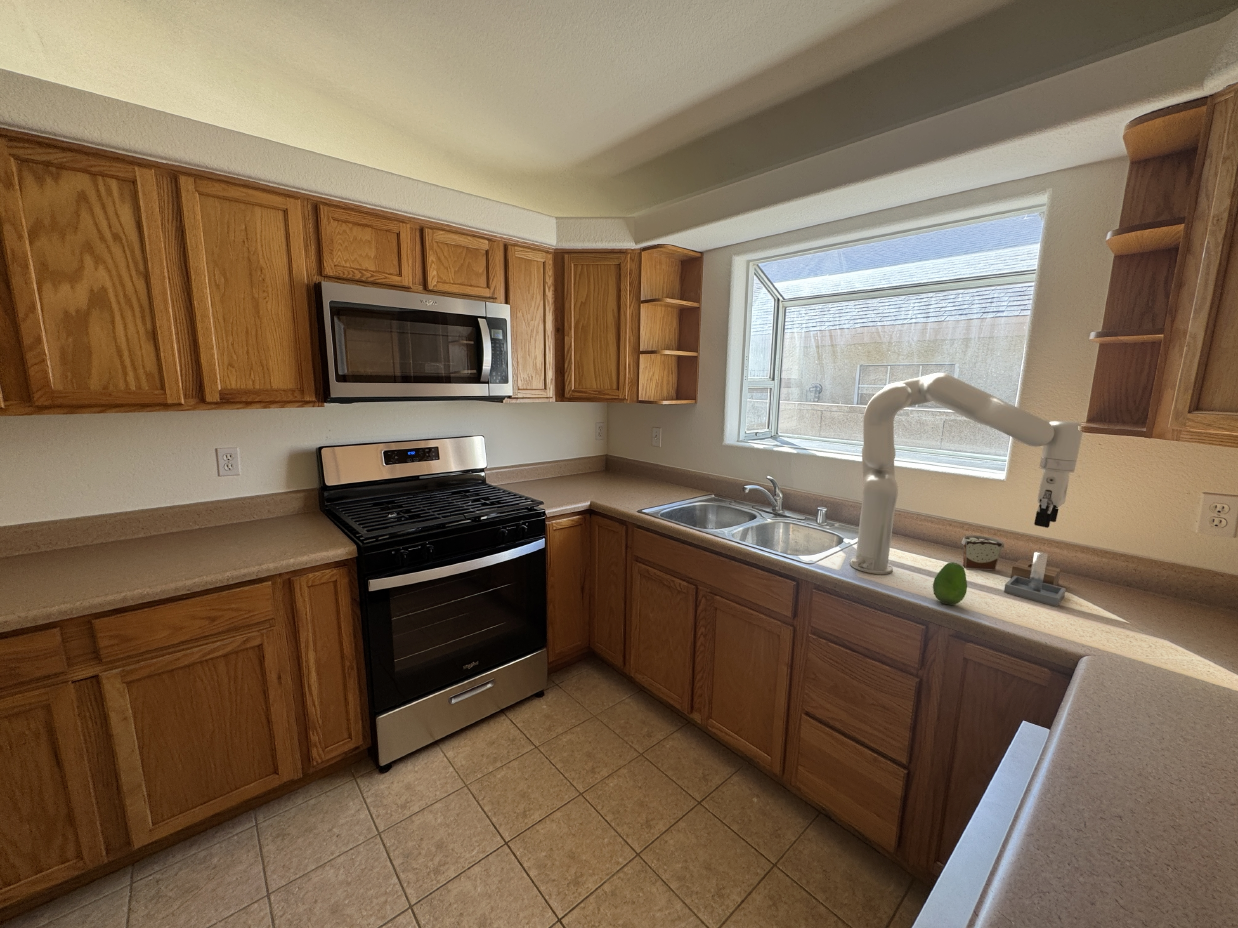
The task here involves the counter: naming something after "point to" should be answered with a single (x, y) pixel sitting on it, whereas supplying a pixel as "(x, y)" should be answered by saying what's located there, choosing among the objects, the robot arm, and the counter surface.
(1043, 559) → the pin
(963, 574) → the avocado
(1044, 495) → the robot arm
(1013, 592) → the tray
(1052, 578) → the pin block
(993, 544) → the food container
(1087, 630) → the counter surface
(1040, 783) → the counter surface
